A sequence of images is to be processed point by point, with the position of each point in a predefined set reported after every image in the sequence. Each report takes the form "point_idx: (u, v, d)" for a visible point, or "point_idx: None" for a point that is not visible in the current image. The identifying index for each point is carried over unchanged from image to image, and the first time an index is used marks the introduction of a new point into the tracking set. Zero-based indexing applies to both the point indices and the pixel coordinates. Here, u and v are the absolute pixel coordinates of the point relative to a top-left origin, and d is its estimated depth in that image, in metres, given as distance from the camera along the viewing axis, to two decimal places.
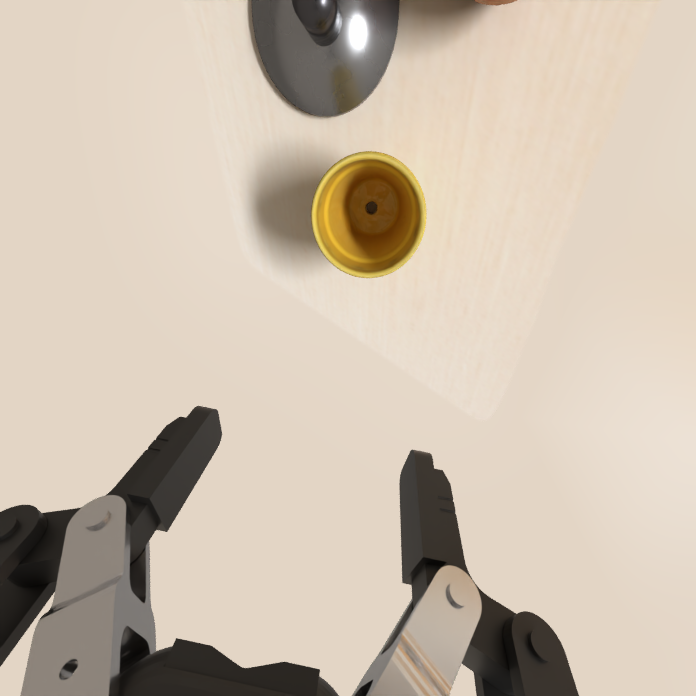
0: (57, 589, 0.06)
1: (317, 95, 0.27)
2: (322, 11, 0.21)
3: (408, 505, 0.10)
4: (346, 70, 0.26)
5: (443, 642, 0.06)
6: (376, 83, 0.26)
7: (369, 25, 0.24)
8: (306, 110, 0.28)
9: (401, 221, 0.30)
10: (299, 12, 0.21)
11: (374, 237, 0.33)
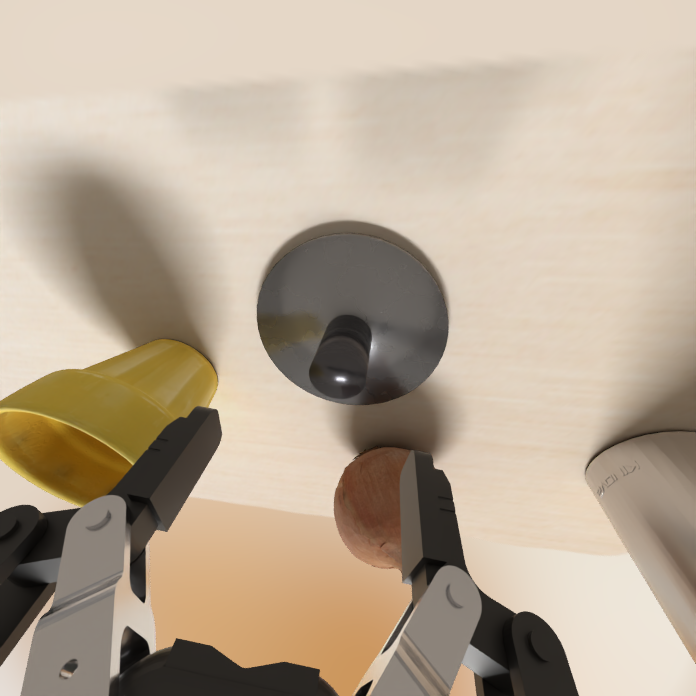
0: (57, 589, 0.06)
1: (277, 319, 0.19)
2: (322, 386, 0.16)
3: (408, 505, 0.10)
4: (305, 356, 0.20)
5: (443, 642, 0.06)
6: (297, 384, 0.22)
7: None
8: (259, 302, 0.19)
9: None
10: (321, 361, 0.15)
11: None
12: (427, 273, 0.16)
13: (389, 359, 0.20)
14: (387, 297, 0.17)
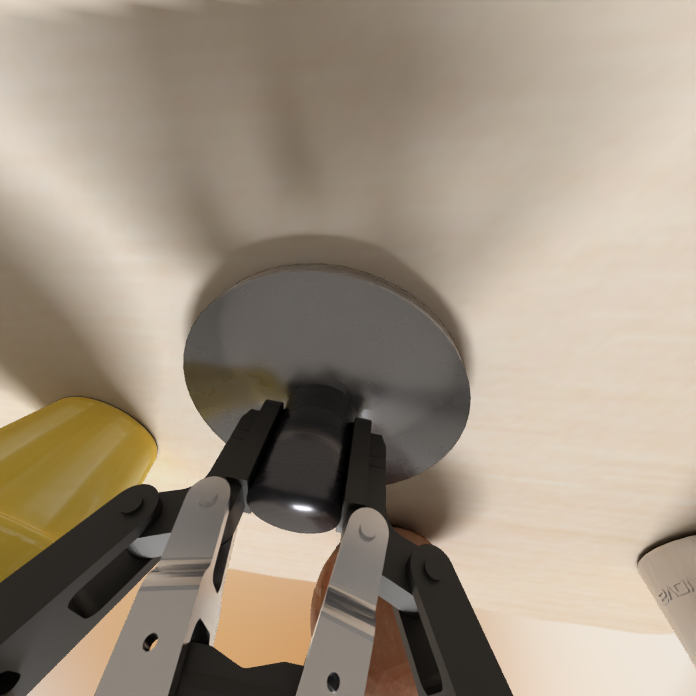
0: (165, 550, 0.07)
1: (216, 386, 0.13)
2: (271, 517, 0.10)
3: None
4: None
5: (363, 574, 0.07)
6: None
7: None
8: (186, 363, 0.12)
9: None
10: (264, 490, 0.09)
11: None
12: (441, 332, 0.10)
13: None
14: (377, 363, 0.11)
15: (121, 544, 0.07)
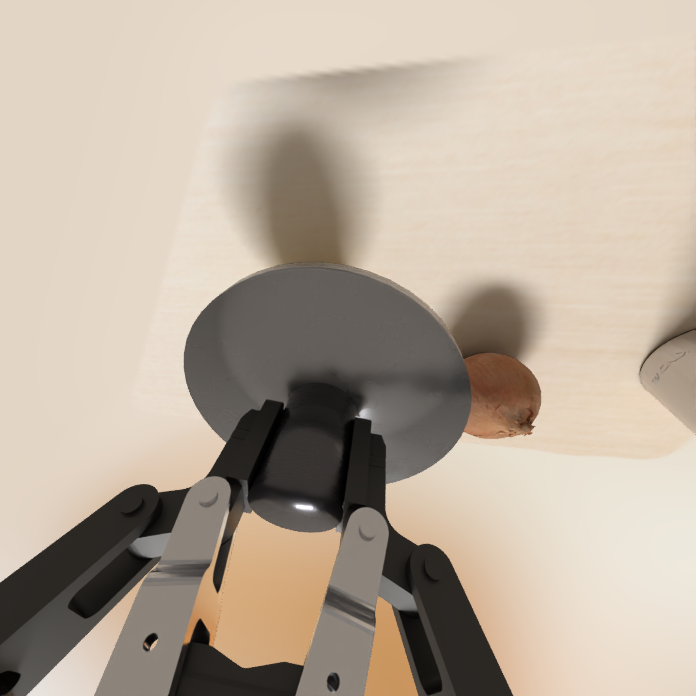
0: (165, 550, 0.07)
1: (216, 385, 0.13)
2: (273, 516, 0.10)
3: None
4: None
5: (363, 574, 0.07)
6: None
7: None
8: (186, 362, 0.12)
9: None
10: (265, 489, 0.09)
11: None
12: (442, 330, 0.10)
13: None
14: (378, 361, 0.11)
15: (121, 544, 0.07)
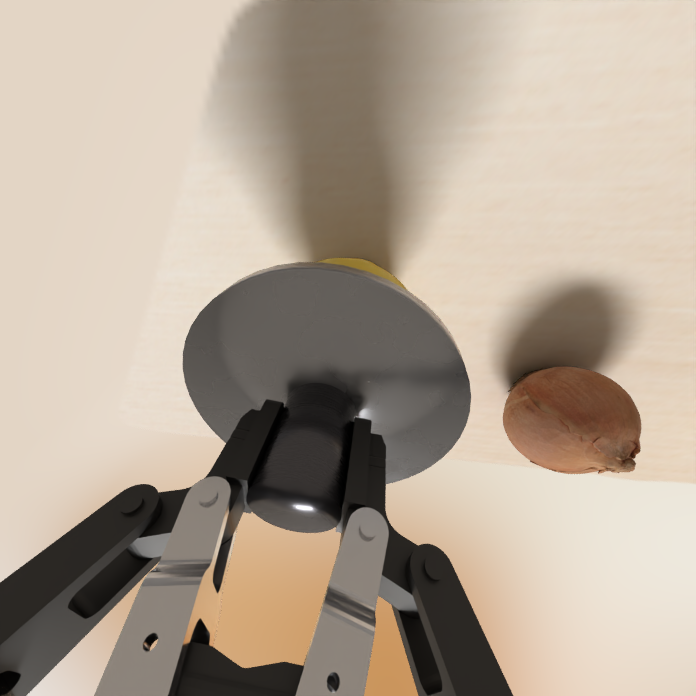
0: (165, 550, 0.07)
1: (215, 385, 0.13)
2: (272, 516, 0.10)
3: None
4: None
5: (363, 574, 0.07)
6: None
7: None
8: (185, 362, 0.12)
9: None
10: (263, 489, 0.09)
11: None
12: (441, 331, 0.10)
13: None
14: (378, 361, 0.11)
15: (121, 544, 0.07)
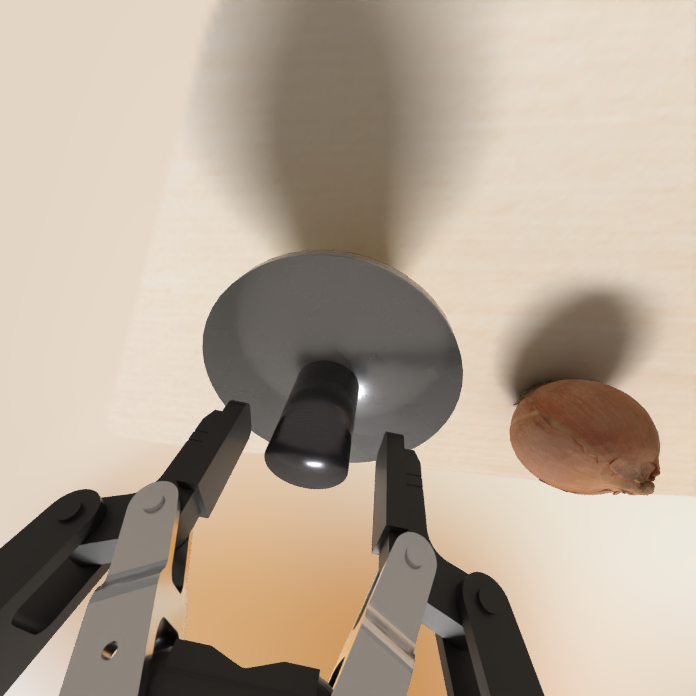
0: (112, 564, 0.06)
1: (232, 364, 0.14)
2: (286, 474, 0.11)
3: (380, 482, 0.10)
4: (272, 407, 0.16)
5: (406, 602, 0.07)
6: (265, 438, 0.17)
7: None
8: (205, 343, 0.14)
9: None
10: (280, 445, 0.10)
11: None
12: (435, 309, 0.11)
13: (382, 413, 0.15)
14: (379, 339, 0.12)
15: (54, 552, 0.07)
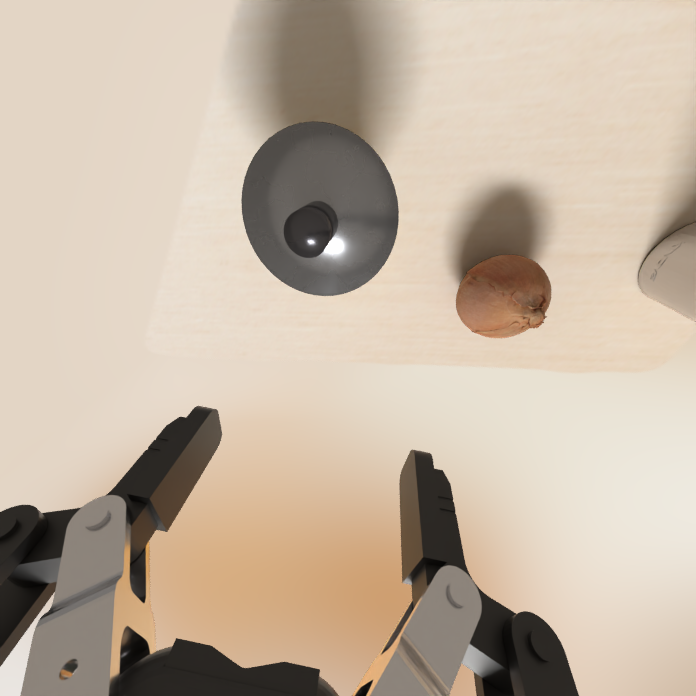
0: (57, 589, 0.06)
1: (259, 212, 0.23)
2: (295, 245, 0.20)
3: (408, 505, 0.10)
4: (284, 247, 0.24)
5: (443, 642, 0.06)
6: (280, 279, 0.26)
7: (318, 270, 0.25)
8: (243, 195, 0.22)
9: None
10: (292, 218, 0.19)
11: None
12: (375, 153, 0.20)
13: (354, 243, 0.24)
14: (346, 179, 0.21)
15: None
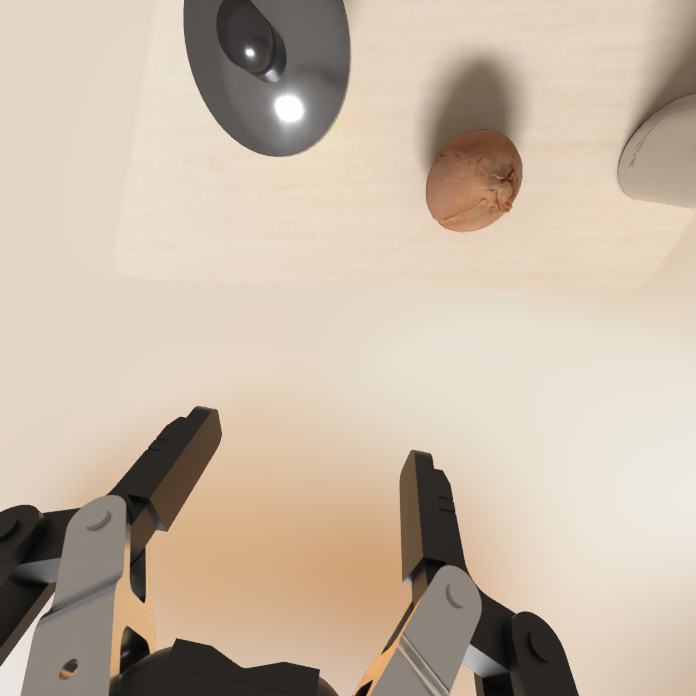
0: (57, 589, 0.06)
1: (203, 41, 0.21)
2: (230, 49, 0.18)
3: (408, 505, 0.10)
4: (232, 91, 0.23)
5: (443, 642, 0.06)
6: (230, 134, 0.25)
7: (269, 121, 0.24)
8: (185, 19, 0.21)
9: None
10: (224, 8, 0.17)
11: None
12: None
13: (304, 83, 0.22)
14: None
15: None
